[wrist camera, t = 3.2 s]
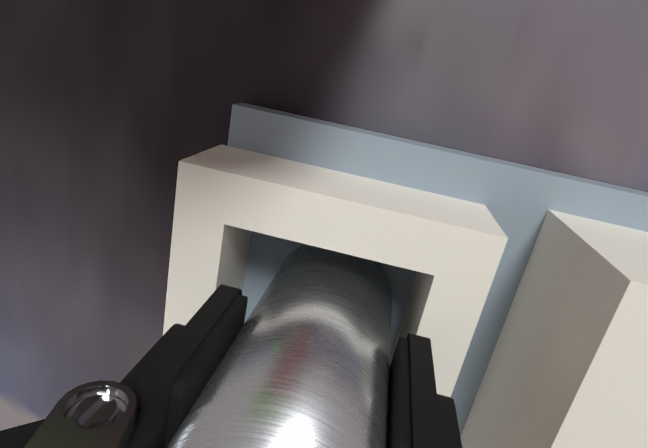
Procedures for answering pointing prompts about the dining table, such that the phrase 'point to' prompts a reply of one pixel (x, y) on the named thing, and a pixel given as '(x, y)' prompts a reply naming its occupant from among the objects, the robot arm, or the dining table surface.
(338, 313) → the pin
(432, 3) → the dining table surface
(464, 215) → the dock station
